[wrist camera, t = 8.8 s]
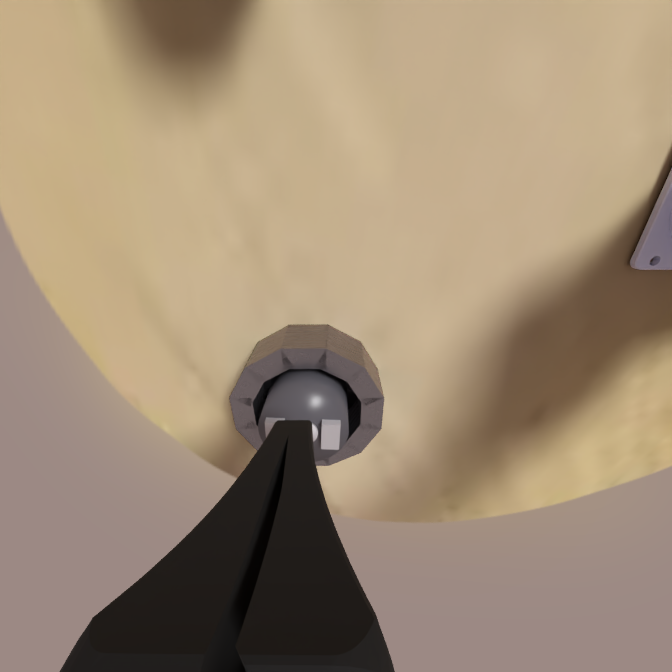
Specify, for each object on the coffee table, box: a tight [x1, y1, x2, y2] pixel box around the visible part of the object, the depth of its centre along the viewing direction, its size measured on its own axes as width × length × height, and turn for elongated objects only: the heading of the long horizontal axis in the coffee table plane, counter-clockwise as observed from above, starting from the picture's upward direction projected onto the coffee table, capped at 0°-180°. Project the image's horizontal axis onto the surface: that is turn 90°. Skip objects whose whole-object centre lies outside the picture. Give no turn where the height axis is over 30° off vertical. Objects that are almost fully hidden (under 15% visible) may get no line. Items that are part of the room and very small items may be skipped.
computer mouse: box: [258, 369, 349, 462], centre depth 18 cm, size 5×5×4 cm
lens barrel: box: [229, 325, 384, 466], centre depth 19 cm, size 9×9×3 cm
